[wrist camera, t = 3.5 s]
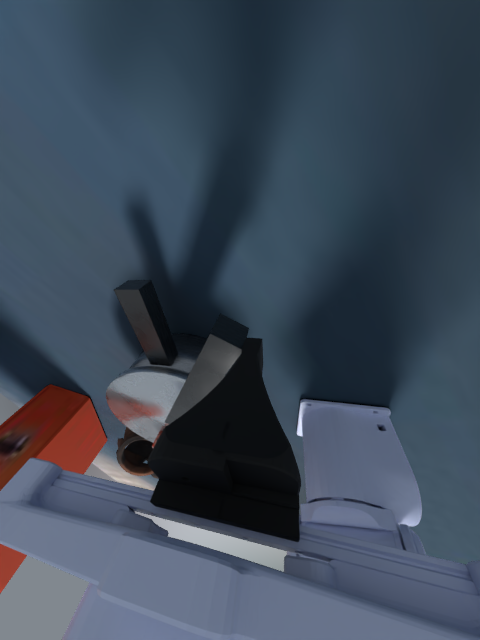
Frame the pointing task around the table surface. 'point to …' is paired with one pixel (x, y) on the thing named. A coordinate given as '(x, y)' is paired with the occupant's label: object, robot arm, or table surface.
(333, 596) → the robot arm
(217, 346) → the cooker lid
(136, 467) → the pottery mug
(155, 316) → the cooker pot
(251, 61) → the table surface
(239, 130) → the table surface
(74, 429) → the file binder
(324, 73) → the table surface
